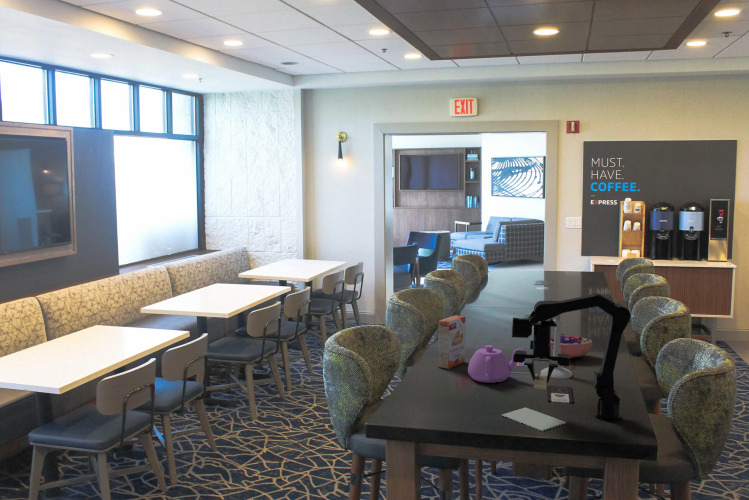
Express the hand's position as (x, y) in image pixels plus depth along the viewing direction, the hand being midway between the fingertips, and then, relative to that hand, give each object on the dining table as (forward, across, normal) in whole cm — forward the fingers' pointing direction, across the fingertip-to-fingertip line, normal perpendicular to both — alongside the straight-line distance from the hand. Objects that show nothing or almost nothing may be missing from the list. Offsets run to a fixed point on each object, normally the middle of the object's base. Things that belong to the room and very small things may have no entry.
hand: (540, 382), depth 238 cm
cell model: (+12, -8, -78) cm, 79 cm away
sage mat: (+12, +2, +5) cm, 13 cm away
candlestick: (+12, -3, -50) cm, 52 cm away
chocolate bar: (+12, -6, -24) cm, 27 cm away
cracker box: (+12, +41, -53) cm, 68 cm away
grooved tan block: (+1, 0, 0) cm, 1 cm away
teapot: (+12, +20, -37) cm, 44 cm away
